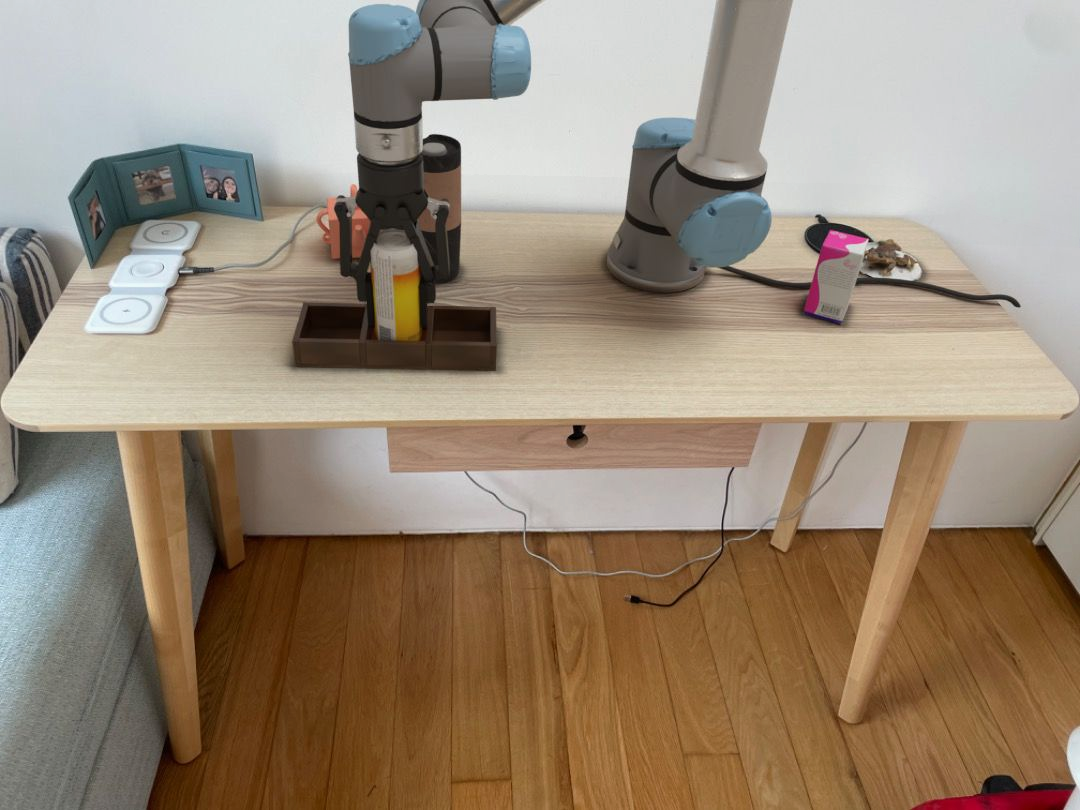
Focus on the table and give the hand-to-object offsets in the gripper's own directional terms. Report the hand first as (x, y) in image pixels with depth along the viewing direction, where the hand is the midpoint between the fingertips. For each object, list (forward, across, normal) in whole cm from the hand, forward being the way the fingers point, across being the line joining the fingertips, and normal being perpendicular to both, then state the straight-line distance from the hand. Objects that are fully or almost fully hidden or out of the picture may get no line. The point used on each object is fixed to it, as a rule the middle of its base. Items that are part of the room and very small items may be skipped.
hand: (398, 321), depth 118 cm
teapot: (+4, -8, +26) cm, 28 cm away
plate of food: (+5, +76, +26) cm, 80 cm away
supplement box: (+5, +62, +12) cm, 63 cm away
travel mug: (+5, +4, +20) cm, 21 cm away
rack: (+4, 0, 0) cm, 4 cm away
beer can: (+3, 0, 0) cm, 3 cm away
